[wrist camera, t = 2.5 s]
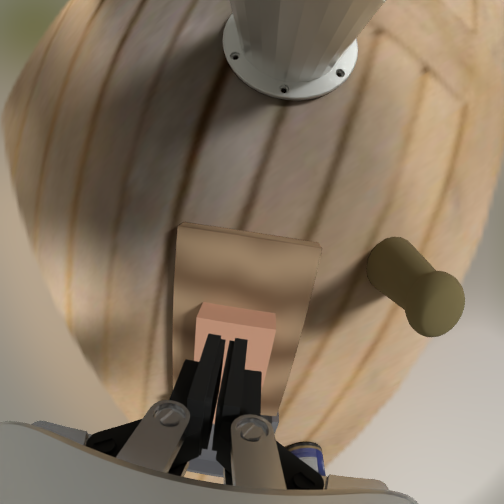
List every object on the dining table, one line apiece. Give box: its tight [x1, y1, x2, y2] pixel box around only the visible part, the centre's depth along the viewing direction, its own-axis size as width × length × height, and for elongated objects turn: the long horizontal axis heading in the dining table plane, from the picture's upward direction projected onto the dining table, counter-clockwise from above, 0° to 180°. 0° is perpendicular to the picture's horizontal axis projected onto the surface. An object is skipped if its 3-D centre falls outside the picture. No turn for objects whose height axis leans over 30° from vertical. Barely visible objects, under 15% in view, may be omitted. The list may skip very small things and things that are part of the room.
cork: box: [366, 237, 465, 337], centre depth 22 cm, size 6×6×11 cm
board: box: [172, 222, 322, 416], centre depth 30 cm, size 22×13×2 cm, turn 172°
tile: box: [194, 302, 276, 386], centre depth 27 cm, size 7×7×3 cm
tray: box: [187, 413, 279, 477], centre depth 35 cm, size 18×14×3 cm
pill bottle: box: [287, 442, 326, 476], centre depth 32 cm, size 6×6×11 cm
